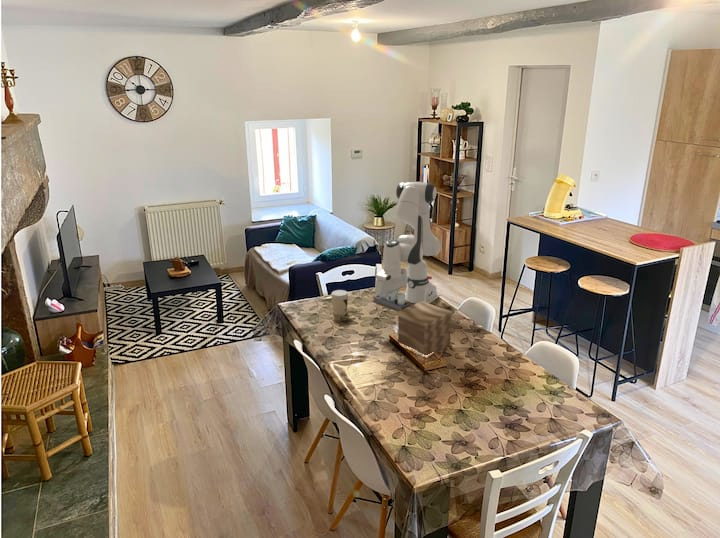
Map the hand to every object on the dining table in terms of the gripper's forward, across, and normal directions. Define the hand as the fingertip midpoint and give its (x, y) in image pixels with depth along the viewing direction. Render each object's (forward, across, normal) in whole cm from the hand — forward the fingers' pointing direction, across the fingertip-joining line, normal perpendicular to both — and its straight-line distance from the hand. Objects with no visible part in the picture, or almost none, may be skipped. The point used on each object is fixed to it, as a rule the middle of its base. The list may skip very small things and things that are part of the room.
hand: (391, 298), depth 279 cm
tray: (+4, 0, 0) cm, 4 cm away
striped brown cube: (+19, 0, +22) cm, 29 cm away
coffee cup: (+19, +3, -37) cm, 42 cm away
